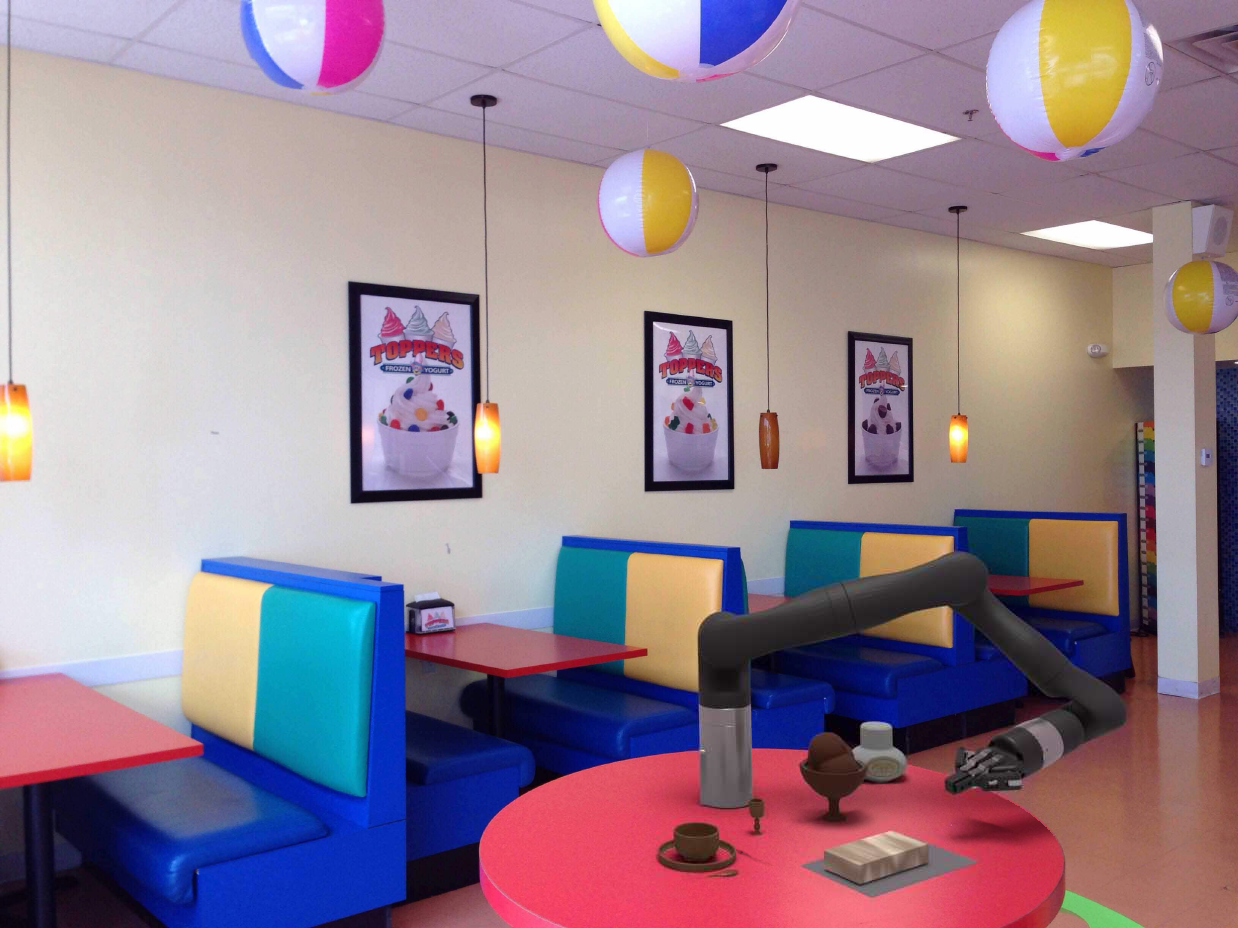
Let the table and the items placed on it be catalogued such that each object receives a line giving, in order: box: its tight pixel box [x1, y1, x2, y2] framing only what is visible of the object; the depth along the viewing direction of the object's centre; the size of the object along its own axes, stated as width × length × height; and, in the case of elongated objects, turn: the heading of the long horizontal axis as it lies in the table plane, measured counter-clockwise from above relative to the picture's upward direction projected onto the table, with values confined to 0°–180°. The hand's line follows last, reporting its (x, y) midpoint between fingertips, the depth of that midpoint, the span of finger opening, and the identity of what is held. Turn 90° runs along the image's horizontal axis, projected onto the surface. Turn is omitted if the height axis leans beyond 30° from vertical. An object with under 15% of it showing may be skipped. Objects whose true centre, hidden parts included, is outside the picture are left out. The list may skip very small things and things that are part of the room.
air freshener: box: [852, 721, 908, 783], centre depth 194 cm, size 11×8×10 cm
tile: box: [823, 830, 930, 885], centre depth 148 cm, size 3×7×14 cm
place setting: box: [657, 797, 765, 878], centre depth 156 cm, size 18×20×6 cm
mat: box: [799, 834, 979, 898], centre depth 149 cm, size 22×14×1 cm, turn 122°
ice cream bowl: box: [798, 731, 868, 823], centre depth 170 cm, size 11×11×15 cm
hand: (948, 787), depth 158 cm, fingers closed
